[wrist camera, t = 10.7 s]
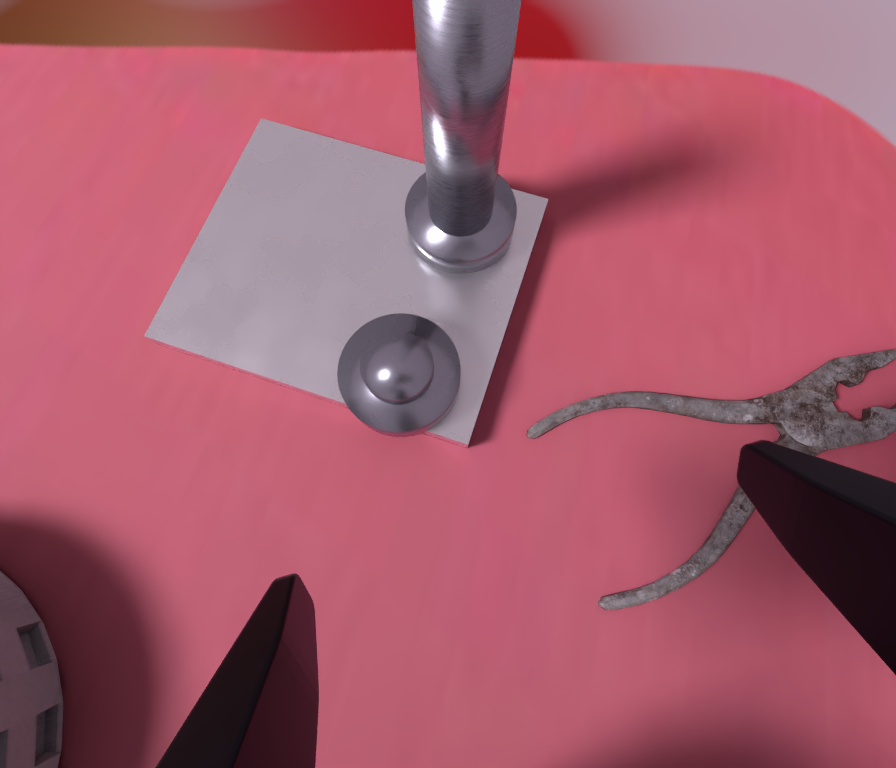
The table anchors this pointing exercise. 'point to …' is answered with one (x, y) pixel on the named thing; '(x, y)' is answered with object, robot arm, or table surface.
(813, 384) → the pliers
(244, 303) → the plate
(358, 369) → the grey metal knob
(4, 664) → the ring
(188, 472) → the table surface
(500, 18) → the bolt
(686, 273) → the table surface
